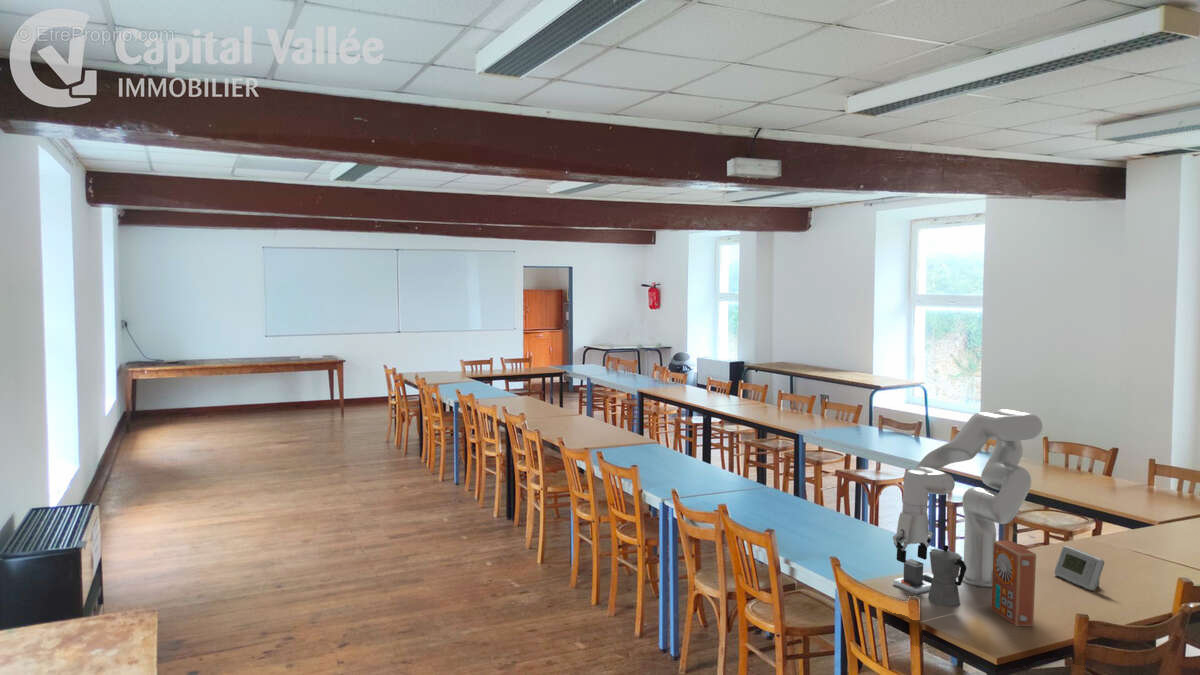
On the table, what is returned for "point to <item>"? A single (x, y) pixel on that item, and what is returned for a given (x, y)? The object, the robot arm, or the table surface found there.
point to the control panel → (1013, 583)
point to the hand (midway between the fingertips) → (911, 559)
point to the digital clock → (1079, 568)
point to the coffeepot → (946, 576)
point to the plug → (913, 572)
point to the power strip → (918, 589)
